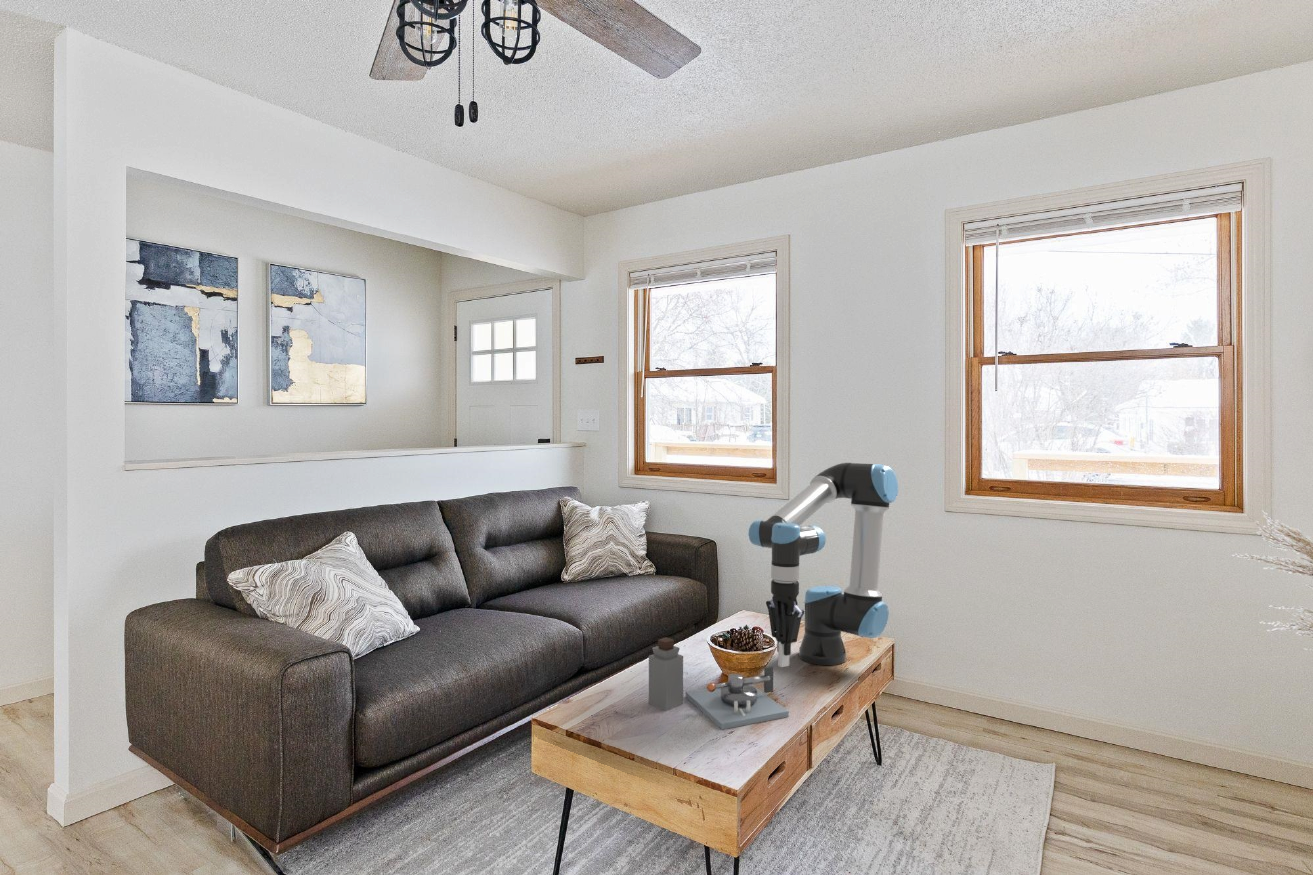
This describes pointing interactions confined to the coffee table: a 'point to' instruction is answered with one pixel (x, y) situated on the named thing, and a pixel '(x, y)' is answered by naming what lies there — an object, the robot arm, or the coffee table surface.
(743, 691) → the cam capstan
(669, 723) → the coffee table surface
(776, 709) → the stand
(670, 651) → the perfume bottle
